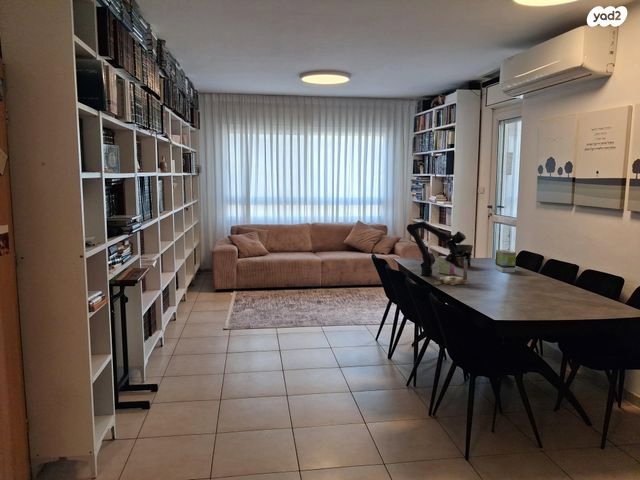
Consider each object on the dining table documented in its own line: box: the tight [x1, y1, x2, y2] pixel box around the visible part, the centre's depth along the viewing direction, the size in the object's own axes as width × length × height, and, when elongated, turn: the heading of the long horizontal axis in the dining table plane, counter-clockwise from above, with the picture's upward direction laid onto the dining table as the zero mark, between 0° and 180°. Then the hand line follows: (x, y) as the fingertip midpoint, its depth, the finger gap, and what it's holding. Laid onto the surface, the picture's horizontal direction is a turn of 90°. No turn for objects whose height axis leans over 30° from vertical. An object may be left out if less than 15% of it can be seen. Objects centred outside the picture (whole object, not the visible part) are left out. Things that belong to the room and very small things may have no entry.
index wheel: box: [436, 259, 469, 286], centre depth 323 cm, size 19×21×15 cm
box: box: [437, 255, 455, 276], centre depth 354 cm, size 10×6×12 cm, turn 40°
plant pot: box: [454, 243, 474, 268], centre depth 382 cm, size 16×16×16 cm
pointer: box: [433, 280, 442, 286], centre depth 318 cm, size 5×2×2 cm, turn 118°
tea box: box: [494, 249, 517, 273], centre depth 363 cm, size 15×10×15 cm
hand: (464, 266), depth 323 cm, fingers open, 9 cm apart
